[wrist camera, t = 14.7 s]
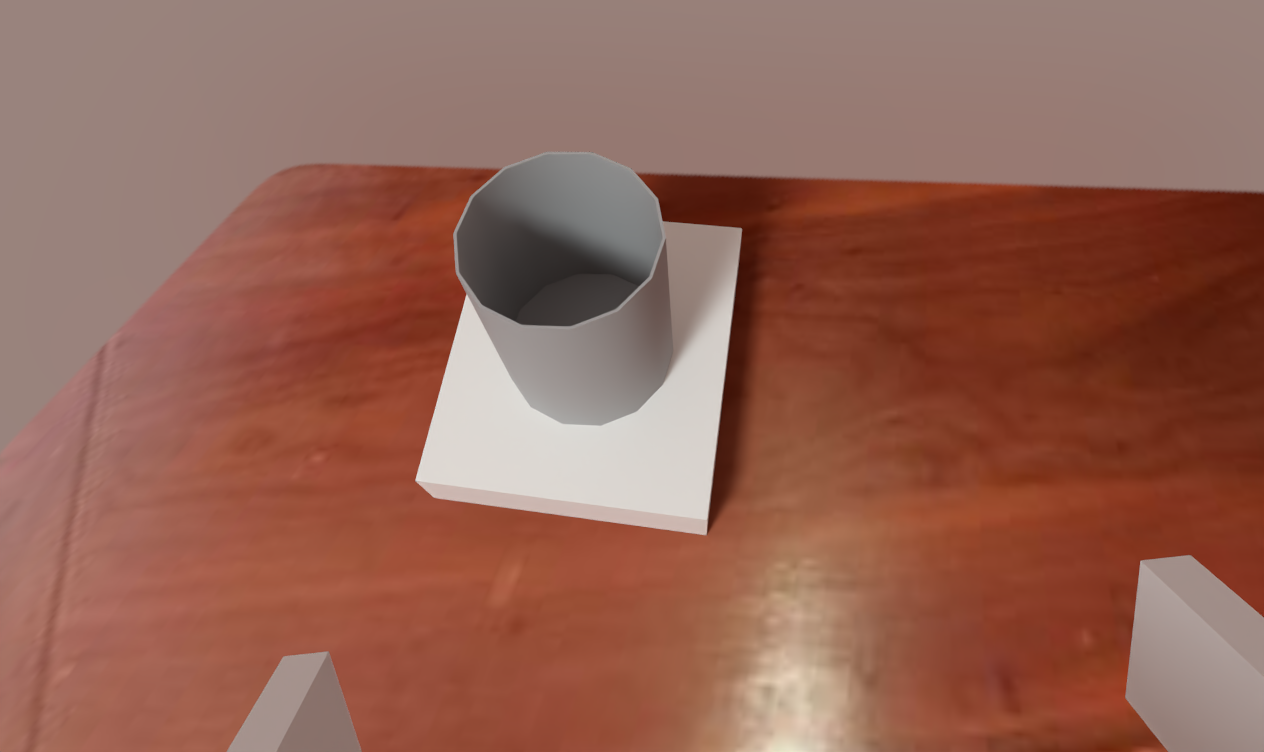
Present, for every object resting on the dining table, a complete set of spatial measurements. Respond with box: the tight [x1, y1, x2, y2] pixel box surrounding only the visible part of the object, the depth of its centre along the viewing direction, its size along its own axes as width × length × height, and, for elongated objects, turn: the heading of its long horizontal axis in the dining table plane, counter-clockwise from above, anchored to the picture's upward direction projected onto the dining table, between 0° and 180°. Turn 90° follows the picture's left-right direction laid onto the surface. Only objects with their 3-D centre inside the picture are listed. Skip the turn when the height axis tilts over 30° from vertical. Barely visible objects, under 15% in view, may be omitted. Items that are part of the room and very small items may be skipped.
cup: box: [453, 152, 673, 426], centre depth 36 cm, size 8×8×10 cm
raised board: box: [415, 221, 742, 535], centre depth 41 cm, size 14×16×3 cm
